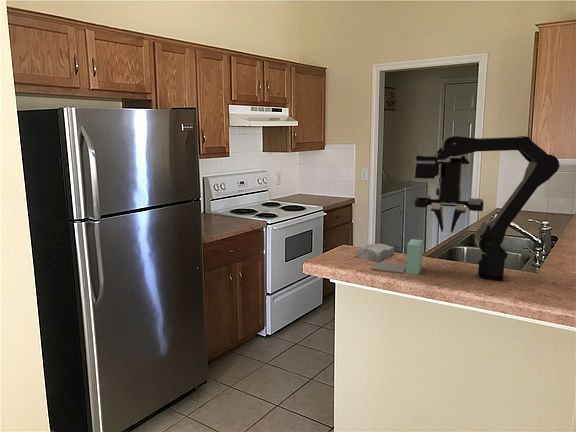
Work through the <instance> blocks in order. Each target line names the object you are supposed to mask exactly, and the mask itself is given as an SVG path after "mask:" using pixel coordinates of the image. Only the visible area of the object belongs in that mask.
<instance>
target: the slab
mask: <svg viewBox="0 0 576 432" xmlns="http://www.w3.org/2000/svg"><path fill="white" fill-rule="evenodd" d="M406 246H407V248H406V264H405V265H406V270H405V274H410V275H419V274H420V272H421V270H422V267H423V253H424V252H423V251H424V249H423V247H424V240H423V239H415V238H414V239H413V238H412V239H410V240H409V242H408V243H407V245H406Z"/></svg>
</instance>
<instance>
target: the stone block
mask: <svg viewBox="0 0 576 432" xmlns="http://www.w3.org/2000/svg"><path fill="white" fill-rule="evenodd" d="M394 249H395V248H394V245H393V246H392V245H391V246H390V245H387V244H383V243H372V244H367V245H365V246H363V247H361V248H358V249H357V250H356V256H357V258H358V259H360V260H361V259H362V260H365V261H372V262H373V261H374V262H382V261H384V260H385V259H388V258H389V257H392V256H393V255H394V254H395V253H394V252H395V250H394Z"/></svg>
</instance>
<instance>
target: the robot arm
mask: <svg viewBox="0 0 576 432" xmlns="http://www.w3.org/2000/svg"><path fill="white" fill-rule="evenodd" d="M491 151H492V152H501V151H503V152H504V151H518V152H519V154H521V155H522V157H523V158H524V160H526V161H527V162H528V164H527V167H526V168H525V170H524V171H525V172H524V175H523V178H522V180H521V181H520V183H519V184H518V185H517V187H516V189H514V191H513V192H512V194H511V195H510V196H509V198H508V199H507V200H506V202H505V203H504V205H503V206H502V207H501V209H500V210H499V211H498V212H497V214H496V216H495V217H494V218H493V219H492V220H491V221H490V222H488V223H486V222H485V221H482V223H481V224H480V226H479V228H478V229H477V230H475V236H474V242H475V244H476V246H477V248H478V249H480V251H481V252H482V254H481V257H480V258H479V259H478V267H477V269H478V270H477V271H478V272H477V274H478V275H479V279H486V280H487V279H488V280H495V281H504V279H505V278H504V276H505V275H504V272H505V261H506V259H507V258H508V254H509V253H508V252H507V251H506V250H505V249H504V248H503V247H502V246H501V245H502V243H503V242H504V240H505V236H506V233H507V229H508V228H509V226H510V225H511V224H512V222H513V221H514V220H515V218H516V217H517V216H518V214H519V213H520V212H521V210H522V209H523V207H524V206H525V205H526V204H527V203H528V201H529V200H530V198H531V197H532V196H533V194H535V191H536V190H537V189H538V188H539V187H540V186H541V185H543V184H544V183H546V182H548V181H549V179H550V180H551V178H552V177H553V176H554V175H555V174H556V173H557V172H558V171H559V169H560V166H561V165H560V161H559V159H558V158H557V157H556V156H555V155H552V154H548V153H547V152H546V151H545V150H544V149H542V147H540V146H538V145H537V143H535V142H534V141H533V140H532V139H531V137H529V136H526V135H517V136H507V137H506V136H505V137H476V138H475V137H468V136H461V135H460V136H459V135H455V134H454V135H453V134H451V135H447V136H445V137H444V138H443V139H442V141H441V145H440V148H439V149H438V150H437V151H436V152H435V154H434V155H421V154H420V155H419V154H417V155H416V156H415V162H414V165H413V179H417V180H418V179H421V180H424V179H425V180H429V179H430V180H435V177H437V176H439V177H440V178H439V184H437V185H436V189H435V190H436V192H435V195H436V197H438V198H432V197H431V196H432V195H419V196H417V197H416V198H415V200H414V207H415V208H427V207H428V206H430V207H431V208H430V211H431V212H434V215H435V218H437V221H438V222H437V223H438V224H439V228H440V232H441V233H443V232H444V227H445V226H444V207H455V209H454V211H453V217H452V222H451V228H450V232H451V233H453V232H454V230H455V227H456V224H457V221H458V220H459V218H460V216H461V214H466V212H467V208H468V210H469V211H471V212H483V211H484V206H485V205H484V204H485V203H484V202H485V201H484V200H483V198H473V197H472V198H468V200H461V195H462V190H461V185H462V184H461V182H462V168H463V167H462V165H470V163H471V162H470V161H469V160H468V159H467V158H466V156H465V155H467V154H472V153H477V152H491ZM458 156H459V157H458ZM447 159H448V160H447ZM439 174H440V175H439Z"/></svg>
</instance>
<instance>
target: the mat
mask: <svg viewBox="0 0 576 432" xmlns="http://www.w3.org/2000/svg"><path fill="white" fill-rule="evenodd" d="M370 270H371V271H378V272H386V273H393V274H394V273H396V274H404V273H406V264H401V263H400V264H398V263H391V262H383V261H375V263H374V264H373V265H372V266H371V268H370Z"/></svg>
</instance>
